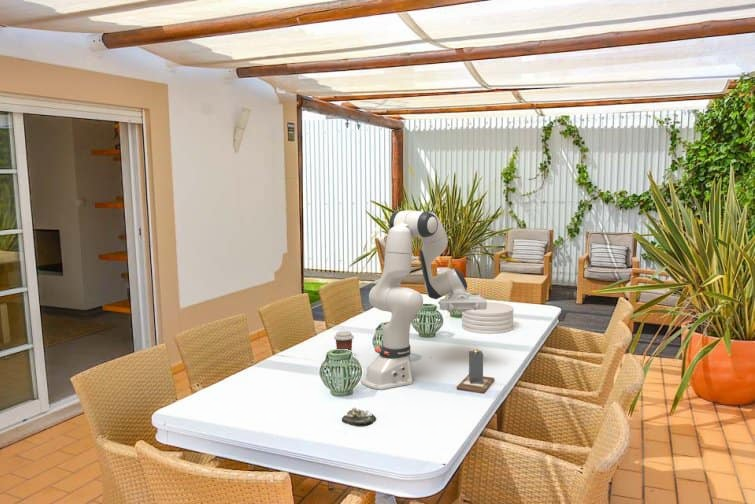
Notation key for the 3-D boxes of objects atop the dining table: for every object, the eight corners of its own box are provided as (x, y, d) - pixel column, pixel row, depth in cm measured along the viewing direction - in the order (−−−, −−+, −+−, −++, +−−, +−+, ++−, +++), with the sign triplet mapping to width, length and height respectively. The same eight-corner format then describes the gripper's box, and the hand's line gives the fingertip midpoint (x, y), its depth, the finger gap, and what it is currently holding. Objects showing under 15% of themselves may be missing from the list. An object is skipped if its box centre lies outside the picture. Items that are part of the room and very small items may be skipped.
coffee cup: (341, 353, 284) (340, 329, 283) (357, 356, 280) (357, 331, 278) (330, 359, 276) (330, 334, 275) (347, 361, 272) (347, 336, 271)
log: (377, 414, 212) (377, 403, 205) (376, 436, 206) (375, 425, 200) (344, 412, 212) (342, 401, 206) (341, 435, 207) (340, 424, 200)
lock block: (470, 383, 236) (470, 352, 235) (468, 379, 241) (468, 348, 240) (483, 383, 236) (483, 351, 235) (481, 379, 241) (481, 348, 240)
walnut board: (483, 393, 229) (483, 390, 229) (456, 389, 234) (456, 386, 234) (494, 380, 244) (494, 377, 244) (468, 377, 248) (468, 373, 248)
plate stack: (502, 336, 311) (503, 315, 309) (453, 330, 325) (453, 309, 324) (520, 325, 334) (520, 305, 333) (473, 319, 349) (473, 300, 347)
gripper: (437, 294, 265) (440, 301, 252) (483, 294, 265) (488, 300, 251) (437, 308, 266) (440, 315, 252) (483, 308, 265) (488, 315, 252)
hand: (464, 308), depth 252 cm, fingers open, 8 cm apart
